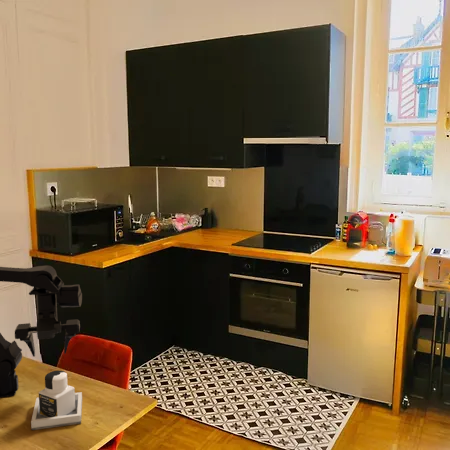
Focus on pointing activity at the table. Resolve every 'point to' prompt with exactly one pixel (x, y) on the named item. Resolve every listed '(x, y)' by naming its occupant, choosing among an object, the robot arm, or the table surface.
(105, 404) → the table surface
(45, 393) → the medicine bottle
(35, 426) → the walled box
